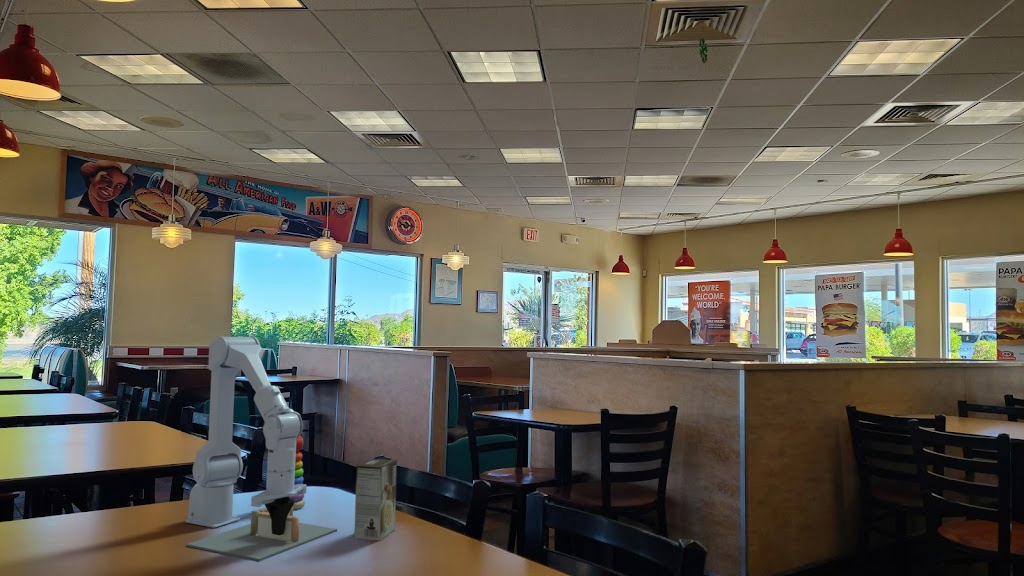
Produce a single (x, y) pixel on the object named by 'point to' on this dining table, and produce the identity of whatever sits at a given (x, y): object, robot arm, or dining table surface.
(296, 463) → the stacking toy
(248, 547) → the mat
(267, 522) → the hinged fence panel
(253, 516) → the fence fixed
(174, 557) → the dining table surface
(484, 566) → the dining table surface
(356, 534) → the coffee box
